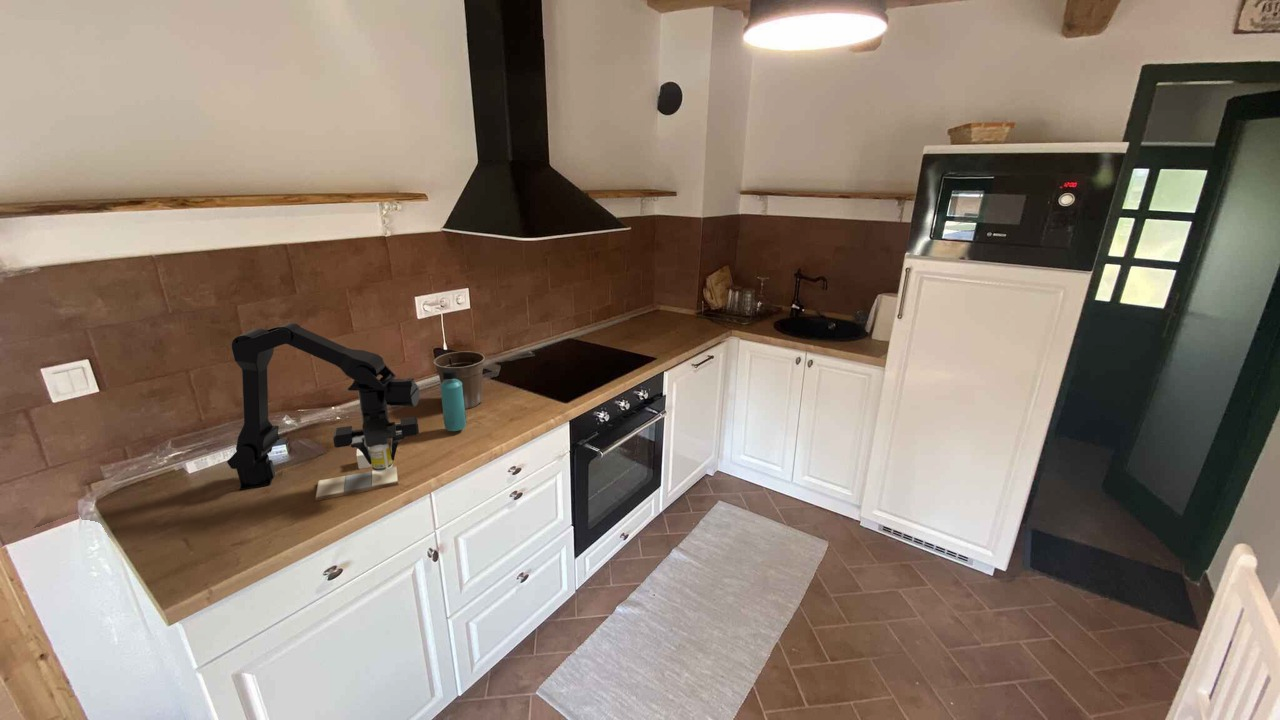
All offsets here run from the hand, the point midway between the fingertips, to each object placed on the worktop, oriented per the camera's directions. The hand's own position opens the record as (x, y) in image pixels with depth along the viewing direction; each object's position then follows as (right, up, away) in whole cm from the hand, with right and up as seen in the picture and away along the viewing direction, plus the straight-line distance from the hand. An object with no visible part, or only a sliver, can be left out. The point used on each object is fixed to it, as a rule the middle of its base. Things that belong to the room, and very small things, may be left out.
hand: (381, 461), depth 133 cm
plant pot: (+5, +11, +48) cm, 49 cm away
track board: (-5, -6, -1) cm, 8 cm away
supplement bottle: (0, -2, +1) cm, 2 cm away
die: (-8, -2, +9) cm, 12 cm away
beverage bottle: (+9, +4, +28) cm, 30 cm away
